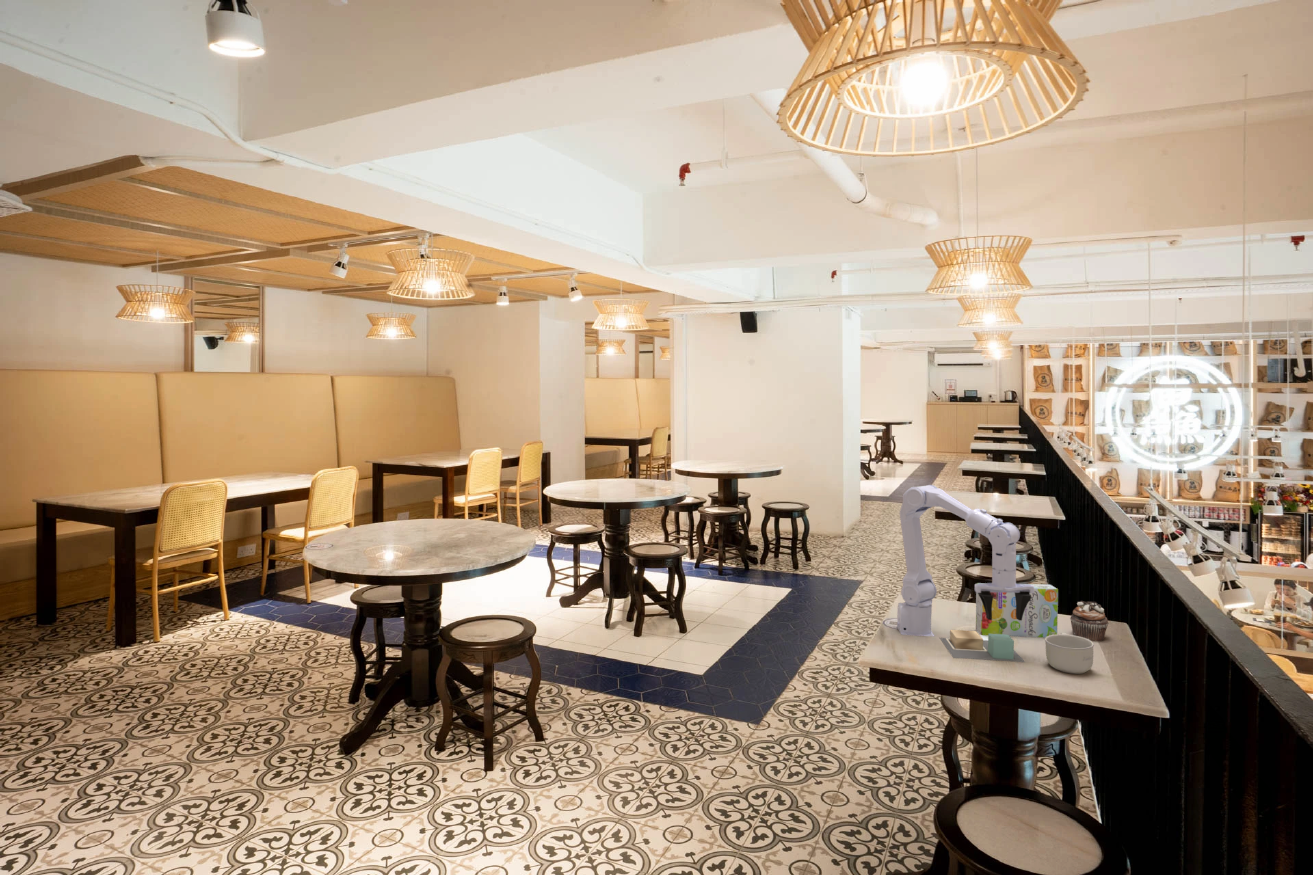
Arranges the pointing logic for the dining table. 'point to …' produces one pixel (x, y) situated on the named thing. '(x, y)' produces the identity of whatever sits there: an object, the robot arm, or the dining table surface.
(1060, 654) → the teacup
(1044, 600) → the snack box
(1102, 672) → the dining table surface
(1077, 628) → the cupcake
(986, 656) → the grey flat slab
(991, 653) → the teal block
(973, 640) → the maple base
